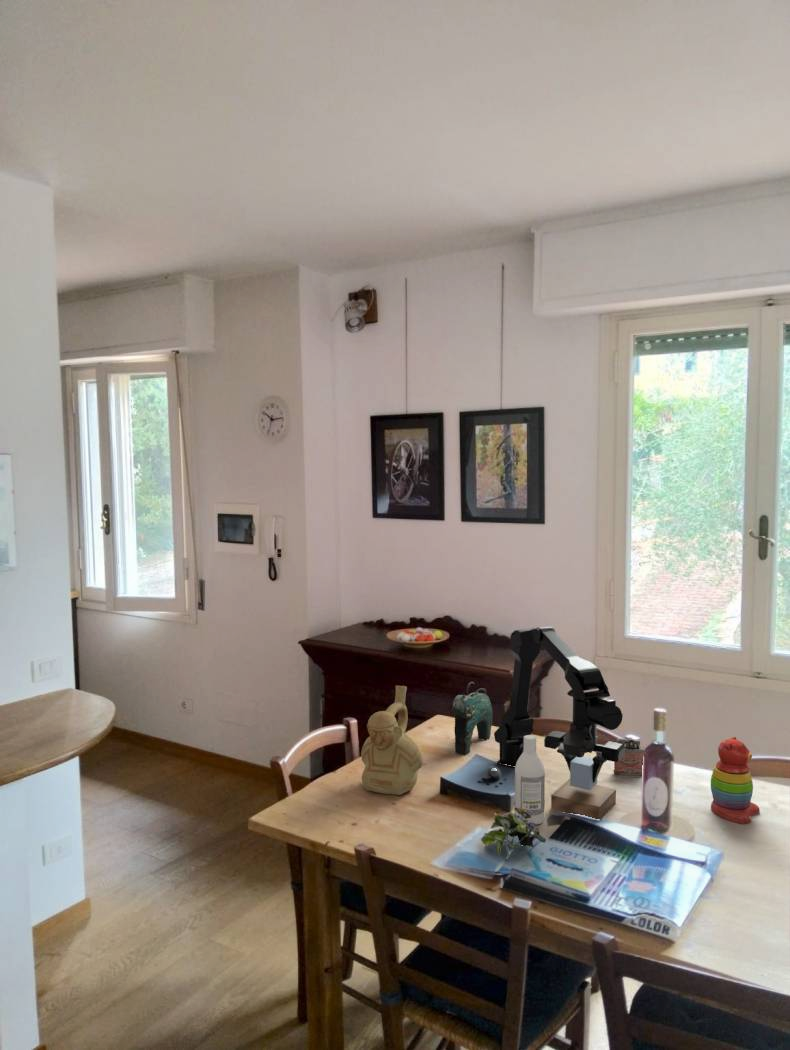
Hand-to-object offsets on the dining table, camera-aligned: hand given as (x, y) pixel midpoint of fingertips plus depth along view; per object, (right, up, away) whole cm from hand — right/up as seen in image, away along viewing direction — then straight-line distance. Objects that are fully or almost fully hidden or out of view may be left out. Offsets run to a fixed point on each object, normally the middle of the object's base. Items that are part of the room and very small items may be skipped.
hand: (583, 779), depth 190 cm
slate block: (0, -1, 0) cm, 1 cm away
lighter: (+17, -5, +20) cm, 27 cm away
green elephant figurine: (-23, -4, +43) cm, 49 cm away
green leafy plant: (-21, -9, -23) cm, 32 cm away
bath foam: (-15, -7, -7) cm, 18 cm away
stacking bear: (+35, -7, -3) cm, 36 cm away
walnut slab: (0, -7, 0) cm, 7 cm away
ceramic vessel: (-47, -6, +13) cm, 49 cm away
